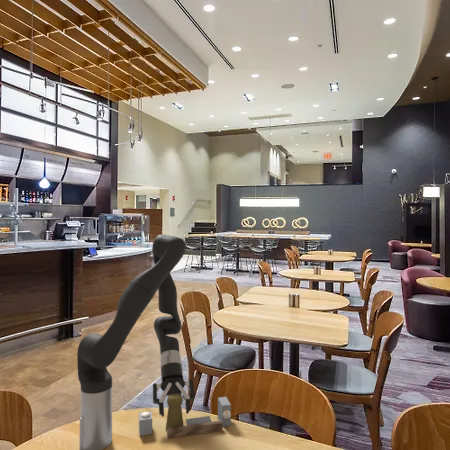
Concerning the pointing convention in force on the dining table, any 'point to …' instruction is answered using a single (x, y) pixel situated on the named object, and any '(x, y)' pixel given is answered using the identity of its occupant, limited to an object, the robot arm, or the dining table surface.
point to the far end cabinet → (224, 411)
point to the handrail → (194, 429)
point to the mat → (198, 420)
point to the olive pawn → (174, 411)
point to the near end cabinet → (145, 423)
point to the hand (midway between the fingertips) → (175, 414)
